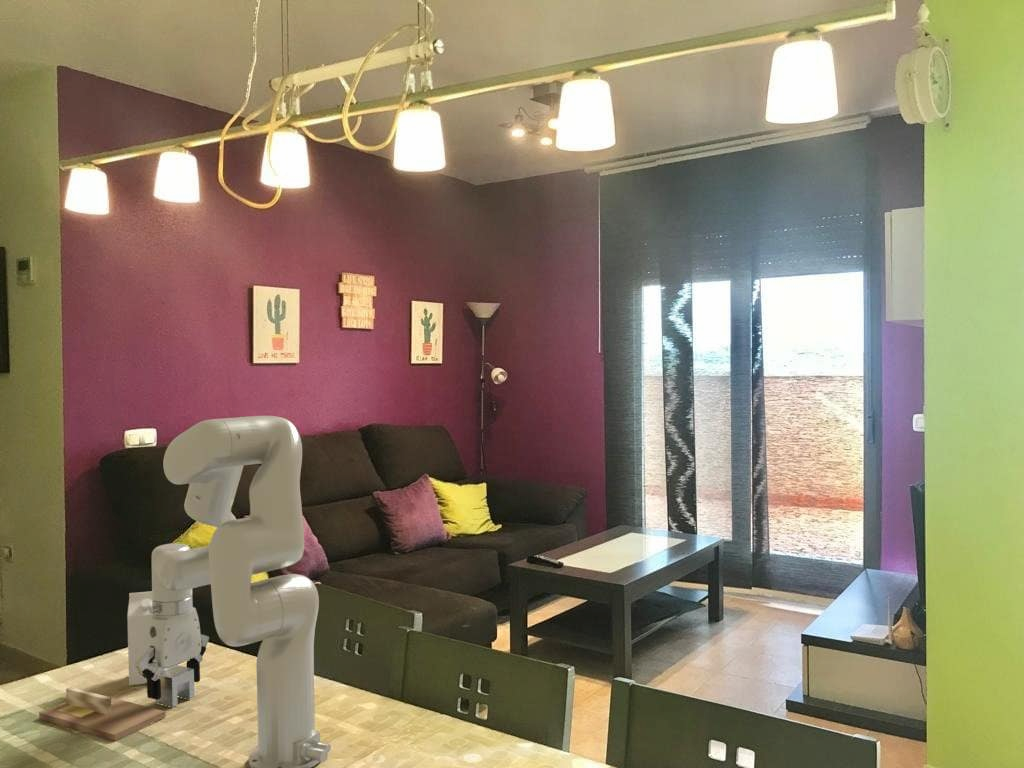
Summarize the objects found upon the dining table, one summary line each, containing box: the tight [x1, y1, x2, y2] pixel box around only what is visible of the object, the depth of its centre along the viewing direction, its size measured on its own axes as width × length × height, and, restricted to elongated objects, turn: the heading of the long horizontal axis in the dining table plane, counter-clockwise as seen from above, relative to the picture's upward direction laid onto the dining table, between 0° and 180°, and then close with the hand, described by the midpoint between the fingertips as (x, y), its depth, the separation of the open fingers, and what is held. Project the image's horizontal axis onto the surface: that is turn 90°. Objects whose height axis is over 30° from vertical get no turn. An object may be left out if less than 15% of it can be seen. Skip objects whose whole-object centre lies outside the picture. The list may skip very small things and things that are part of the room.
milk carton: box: [126, 590, 168, 686], centre depth 179 cm, size 7×7×19 cm
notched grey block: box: [154, 664, 195, 708], centre depth 167 cm, size 5×5×6 cm
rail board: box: [38, 686, 167, 742], centre depth 159 cm, size 22×11×4 cm, turn 63°
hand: (174, 689), depth 167 cm, fingers open, 9 cm apart
